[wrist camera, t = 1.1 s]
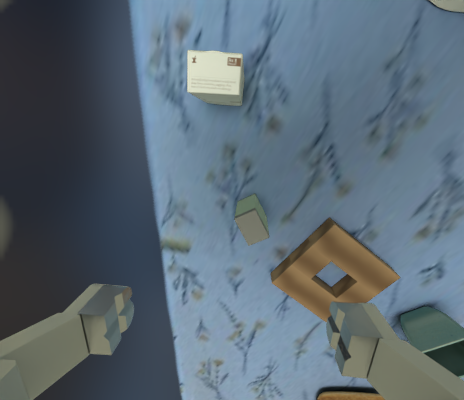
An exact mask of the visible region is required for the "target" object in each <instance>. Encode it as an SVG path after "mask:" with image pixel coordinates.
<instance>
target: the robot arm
mask: <svg viewBox="0 0 464 400" xmlns="http://www.w3.org/2000/svg"><path fill="white" fill-rule="evenodd" d="M430 1H431V2H432V3H433V4H435V5H436V6H438V7H440V8H442V9H445V10H449V11H456V12H464V0H430ZM131 296H132V291H131V288H130V287H125V286H114V285H103V284H93V285H90V286H89V287H88V288H87V289H86V290H85V291H84V292H83V293H82V294H81V295H80V296H79V297H78V298H77V299H76V300H75V301H74V302H73V303H72V304H71V305H70V306H69V307H68V308H67V309H66V310H65V311H64V312H63V313H57V314H55V315H53V316H51V317H49V318H47V319H45V320H43V321H41V322H39V323H37V324H35V325H33V326H31V327H29V328H27V329H25V330H22V331H20V332H18V333H16V334H14V335H12V336H10V337H8V338H6V339H4V340H2V341H0V400H33V399H34V398H35V397H37V396H38V395H39V394H40V393H42V392H43V391H44V390H46V389H47V388H48V387H49V386H51V385H52V384H53V383H54V382H56V381H57V380H58V379H59V378H61V377H62V376H63V375H64V374H66V373H67V372H68V371H69V370H71V369H72V368H73V367H74V366H76V365H77V364H78V363H80V362H81V361H82V360H83V359H85V358H86V357H87V356H88V355H89V354H104V355H105V354H106V355H112V353H113V351H114V350H115V348H116V347H117V345H118V343H119V341H120V340H121V334H120V333H122V332H123V331H125V330H126V329H127V328H128V327H129V325H130V323H131V321H132V318H133V314H134V306H133V303H132V302H131V301H130V297H131ZM329 310H330V312H331V316H330V317H328V318H327V324H326V329H327V336H328V340H329V343H330V346H331V347H333V348H334V349H335V350H336V353H335V359H336V362H337V364H338V367H339V370H340V372H341V375H342V376H349V377H358V378H366V379H367V380H368V382H369V383H370V384H371V385H372V386H373V387H374V388H375V389H376V390H377V391H378V392H379V394H380V395H381V396H382V397H383V398H384V399H385V400H464V381H463V380H462V379H460V378H459V377H457V376H456V375H454V374H453V373H451V372H450V371H448V370H447V369H446V368H444V367H443V366H441V365H440V364H438V363H437V362H435V361H434V360H432V359H431V358H430V357H428V356H427V355H425V354H424V353H422V352H421V351H419V350H418V349H416V348H415V347H413V346H412V345H411V344H409V343H408V342H406V341H404V340H400V339H399V338H398V336H397V335H396V334H395V332H394V331H393V329H392V328H391V327H390V325H389V324H388V322H387V321H386V320H385V318H384V317H383V316H382V314H381V313H380V311H379V310H378V309H377V307H376V306H375V305H374V304H372V303H352V302H336V301H332V302H331V304H330V308H329Z"/></svg>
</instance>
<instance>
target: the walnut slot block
mask: <svg viewBox="0 0 464 400" xmlns="http://www.w3.org/2000/svg"><path fill="white" fill-rule="evenodd" d="M331 261H332V262H333V263H334V264H335V265H337V266H338V267H339V268H341V269H342V270H343V271H344V272H346V273H347V275H346V276H345V277H343V278H342V279H341V280H340V281H339V282H337V283H336V284H335V285H334V286H332V287H330V286H329V285H328V284H326V283H325V282H324V281H322V280H321V279H320V278H318V277H317V276H316V274H317V273H318V272H319V271H320V270H322V269H323V268H324V267H325V266H326V265H327V264H329V263H330V262H331ZM399 278H400V276H399V275H398V274H397V273H396V272H395V271H394V270H393V269H392V268H391V267H390V266H389V265H388V264H386V263H385V262H384V261H383V260H381V259H380V258H379V257H378V256H376V255H375V254H374V253H373V252H371V251H370V250H369V249H368V248H367V247H365V246H364V245H363V244H362V243H360V242H359V241H358V240H357V239H355V238H354V237H353V236H352V235H350V234H349V233H348V232H347V231H345V230H344V229H343V228H342V227H341V226H339V225H338V224H337V223H336V222H334V221H333V220H332V219H331V218H328V219H327V220H326V221H325V222H324V223H323V224H322V225H321V226H320V227H319V228H318V229H317V230H316V231H315V232H314V233H312V234H311V235H310V236H309V237H308V238H307V239H306V240H305V241H304V242H303V243H302V244H301V245H300V246H299V247H298V248H297V249H296V250H295V251H293V252H292V253H291V254H290V255H289V256H288V257H287V258H286V259H285V260H284V261H283V262H282V263H281V264H280V265H279V266H278V267H277V268H276V269H275V270H273V271H272V272H271V280H272V283H273V284H274V285H275V286H277V287H278V288H280V289H281V290H282V291H284V292H285V293H286V294H288V295H289V296H291V297H292V298H293V299H295V300H296V301H298V302H299V303H300V304H302V305H303V306H304V307H306V308H307V309H309V310H310V311H311V312H313V313H314V314H316V315H317V316H318V317H320V318H321V319H322V320H324V321H325V322H327V318H328V317H330V316H331V312H330V310H329V308H330V304H331V302H332V301H336V302H352V303H367V302H368V301H369V300H371V299H372V298H373V297H375V296H376V295H377V294H379V293H380V292H381V291H383V290H384V289H385V288H387V287H388V286H390V285H391V284H392V283H394V282H395V281H396V280H398V279H399Z"/></svg>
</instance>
